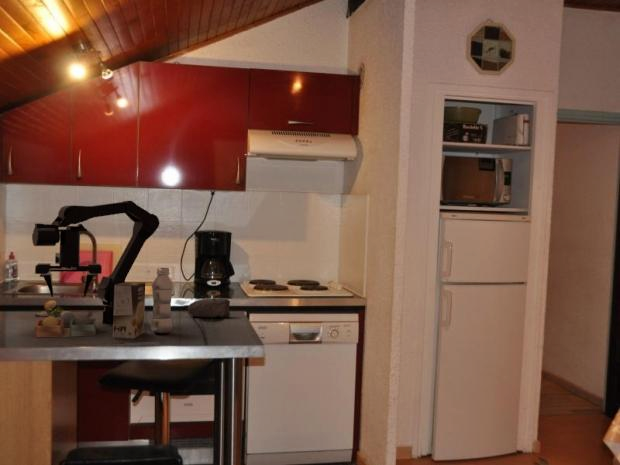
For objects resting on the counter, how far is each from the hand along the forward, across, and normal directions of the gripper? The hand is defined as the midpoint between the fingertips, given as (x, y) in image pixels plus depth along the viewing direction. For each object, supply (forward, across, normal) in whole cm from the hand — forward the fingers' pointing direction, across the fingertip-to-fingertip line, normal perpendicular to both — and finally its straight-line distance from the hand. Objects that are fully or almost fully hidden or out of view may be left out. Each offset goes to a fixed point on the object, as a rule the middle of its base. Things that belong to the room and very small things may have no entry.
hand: (68, 296), depth 180 cm
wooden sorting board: (+10, 0, +6) cm, 12 cm away
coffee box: (+10, -17, +17) cm, 26 cm away
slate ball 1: (+9, 0, 0) cm, 9 cm away
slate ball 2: (+9, -4, +7) cm, 13 cm away
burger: (+11, +5, -25) cm, 28 cm away
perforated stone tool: (+11, -47, -17) cm, 51 cm away
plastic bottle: (+10, -27, +11) cm, 31 cm away
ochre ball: (+9, +5, +7) cm, 13 cm away
